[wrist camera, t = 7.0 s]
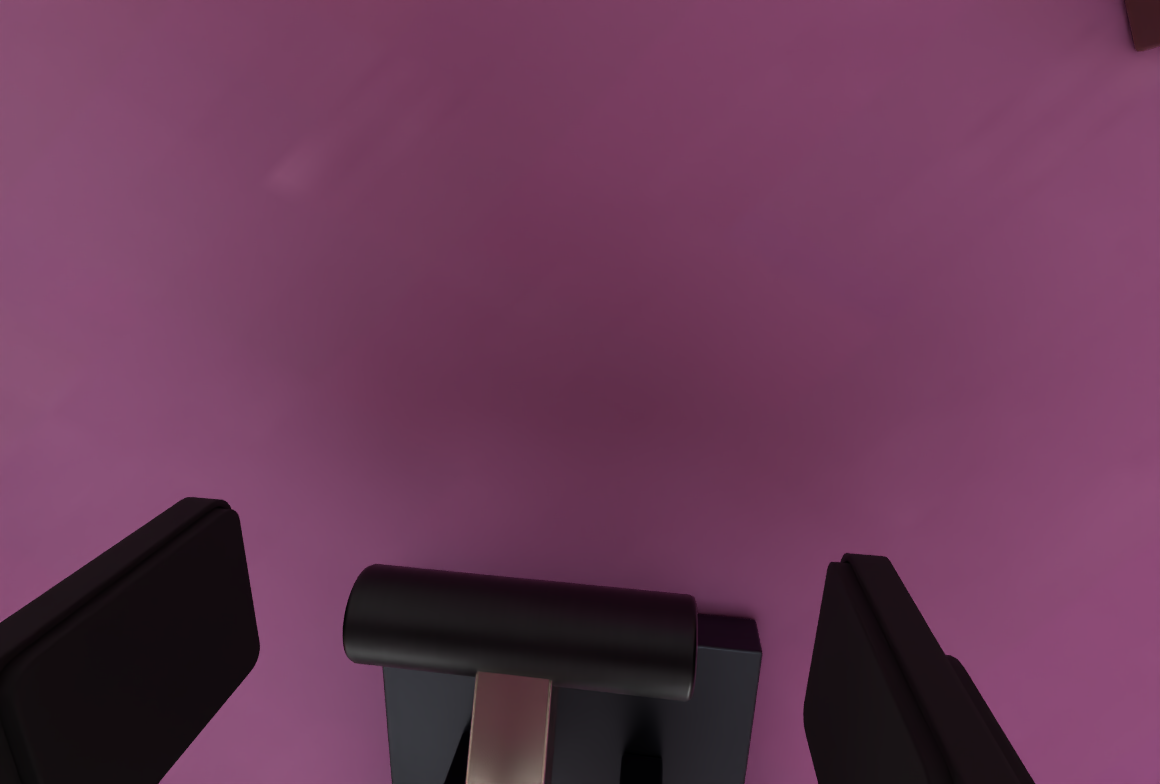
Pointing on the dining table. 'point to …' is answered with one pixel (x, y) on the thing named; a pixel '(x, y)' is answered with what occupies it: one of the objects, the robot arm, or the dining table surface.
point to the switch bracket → (597, 722)
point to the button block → (1144, 23)
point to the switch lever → (522, 650)
